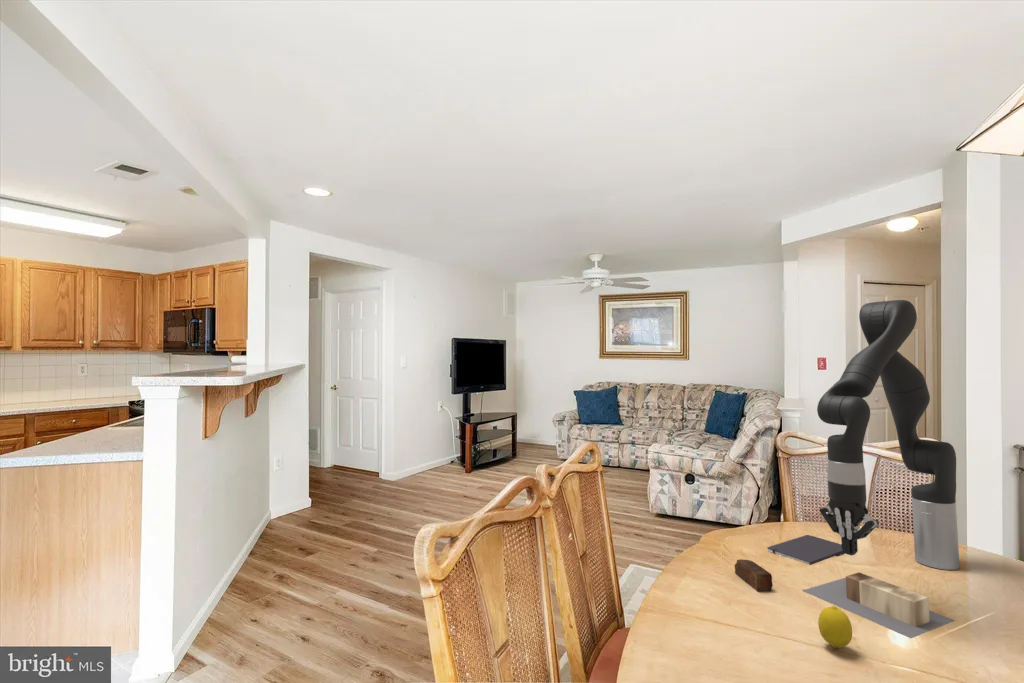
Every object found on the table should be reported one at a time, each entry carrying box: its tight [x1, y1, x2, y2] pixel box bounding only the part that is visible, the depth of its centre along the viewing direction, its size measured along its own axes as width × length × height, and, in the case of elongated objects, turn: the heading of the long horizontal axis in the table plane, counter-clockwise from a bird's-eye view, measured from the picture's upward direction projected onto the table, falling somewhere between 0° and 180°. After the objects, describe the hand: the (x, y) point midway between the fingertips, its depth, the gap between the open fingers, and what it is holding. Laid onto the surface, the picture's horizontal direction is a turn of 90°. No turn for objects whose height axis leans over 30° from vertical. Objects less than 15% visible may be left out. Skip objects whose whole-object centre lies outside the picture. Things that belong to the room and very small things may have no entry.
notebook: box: [767, 534, 845, 565], centre depth 145 cm, size 13×2×21 cm
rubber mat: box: [802, 577, 956, 639], centre depth 112 cm, size 16×23×1 cm
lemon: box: [817, 605, 853, 650], centre depth 96 cm, size 6×6×8 cm
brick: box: [734, 558, 774, 593], centre depth 124 cm, size 11×4×5 cm, turn 4°
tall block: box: [845, 572, 930, 627], centre depth 110 cm, size 5×5×14 cm
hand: (849, 553), depth 117 cm, fingers closed
